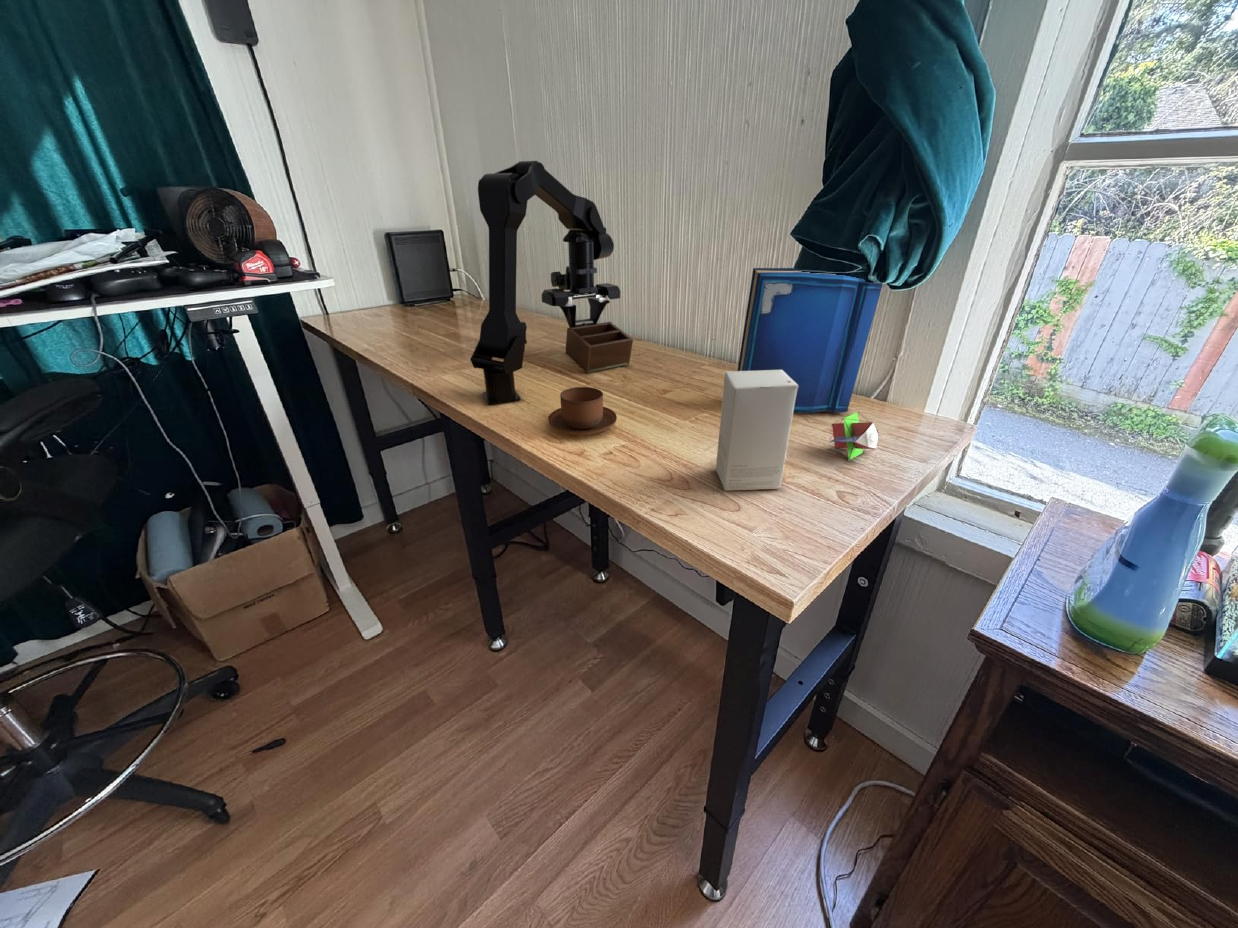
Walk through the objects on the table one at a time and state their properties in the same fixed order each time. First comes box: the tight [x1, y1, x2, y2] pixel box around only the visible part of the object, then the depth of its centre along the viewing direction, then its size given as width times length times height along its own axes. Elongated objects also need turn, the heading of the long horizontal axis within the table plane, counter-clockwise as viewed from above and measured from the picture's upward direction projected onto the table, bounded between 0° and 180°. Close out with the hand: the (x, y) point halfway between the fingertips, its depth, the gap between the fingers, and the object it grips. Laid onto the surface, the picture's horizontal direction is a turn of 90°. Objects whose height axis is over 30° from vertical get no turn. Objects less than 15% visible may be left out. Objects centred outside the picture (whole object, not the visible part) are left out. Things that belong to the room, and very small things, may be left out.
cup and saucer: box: [547, 386, 618, 437], centre depth 86 cm, size 12×12×6 cm
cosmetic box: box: [715, 370, 799, 492], centre depth 68 cm, size 8×7×16 cm
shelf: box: [565, 317, 634, 374], centre depth 118 cm, size 14×12×6 cm
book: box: [737, 267, 884, 415], centre depth 89 cm, size 22×7×25 cm, turn 84°
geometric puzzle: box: [828, 410, 880, 461], centre depth 77 cm, size 7×7×8 cm
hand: (582, 330), depth 121 cm, fingers closed on shelf, 5 cm apart
